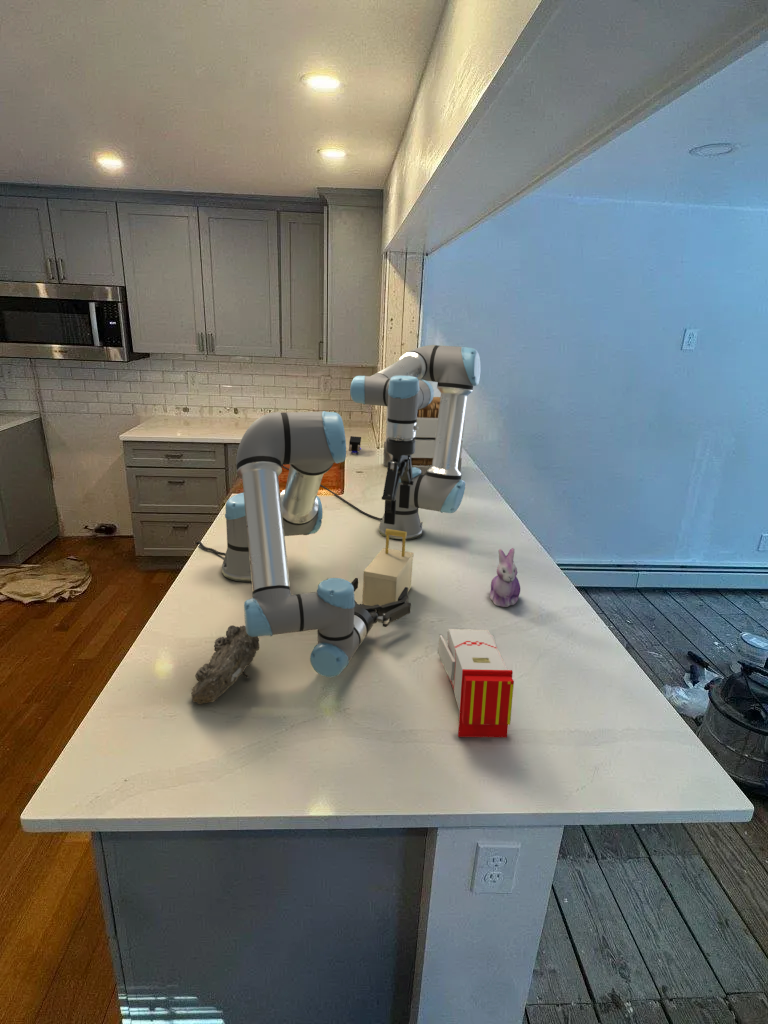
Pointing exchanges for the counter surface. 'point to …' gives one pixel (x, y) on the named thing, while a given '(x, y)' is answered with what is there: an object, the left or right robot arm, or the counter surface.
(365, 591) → the chest
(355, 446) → the figurine character
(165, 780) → the counter surface
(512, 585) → the figurine
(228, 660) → the fossil
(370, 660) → the counter surface
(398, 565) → the lid
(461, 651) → the white and red box
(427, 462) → the transformer
